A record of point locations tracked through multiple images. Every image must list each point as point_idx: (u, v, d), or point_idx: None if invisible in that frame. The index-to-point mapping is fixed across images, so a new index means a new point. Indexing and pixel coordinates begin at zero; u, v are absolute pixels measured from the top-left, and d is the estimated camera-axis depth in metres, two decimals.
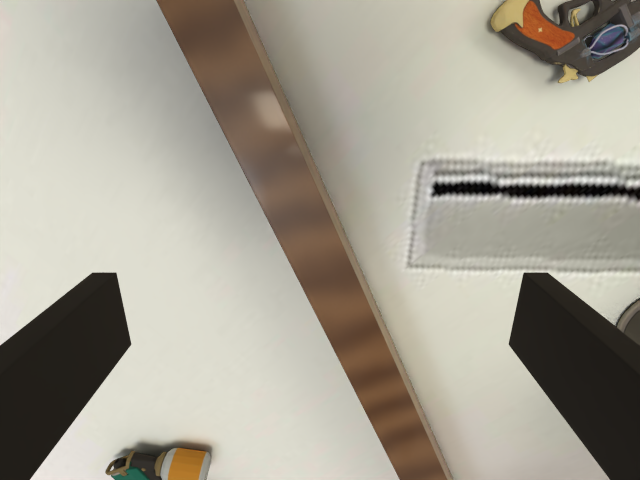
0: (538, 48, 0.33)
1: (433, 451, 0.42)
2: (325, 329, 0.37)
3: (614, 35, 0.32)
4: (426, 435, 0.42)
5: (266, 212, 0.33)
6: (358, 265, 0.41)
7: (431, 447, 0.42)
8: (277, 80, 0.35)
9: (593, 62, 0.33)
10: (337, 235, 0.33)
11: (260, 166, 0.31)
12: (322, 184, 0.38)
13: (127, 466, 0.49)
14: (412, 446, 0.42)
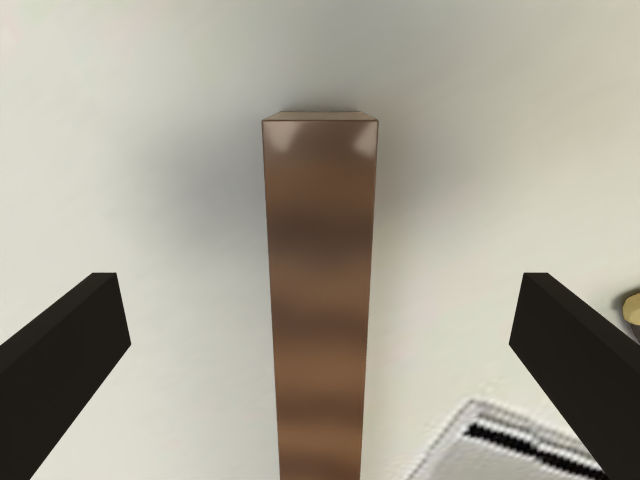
0: None
1: None
2: None
3: None
4: None
5: (281, 453, 0.23)
6: None
7: None
8: None
9: None
10: None
11: (302, 405, 0.22)
12: None
13: None
14: None
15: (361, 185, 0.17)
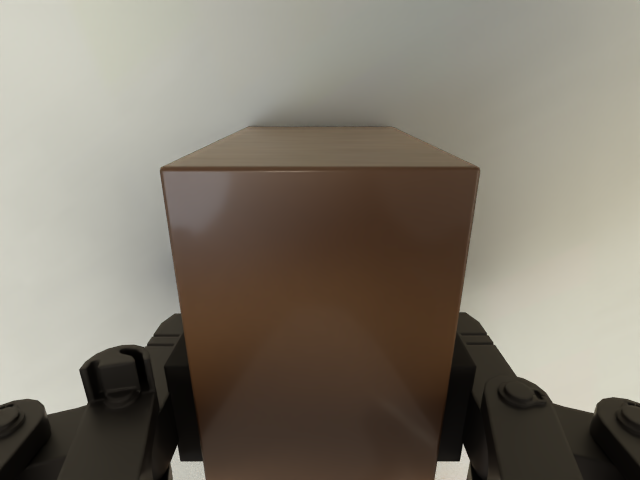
0: None
1: None
2: None
3: None
4: None
5: None
6: None
7: None
8: None
9: None
10: None
11: None
12: None
13: None
14: None
15: (423, 325, 0.07)
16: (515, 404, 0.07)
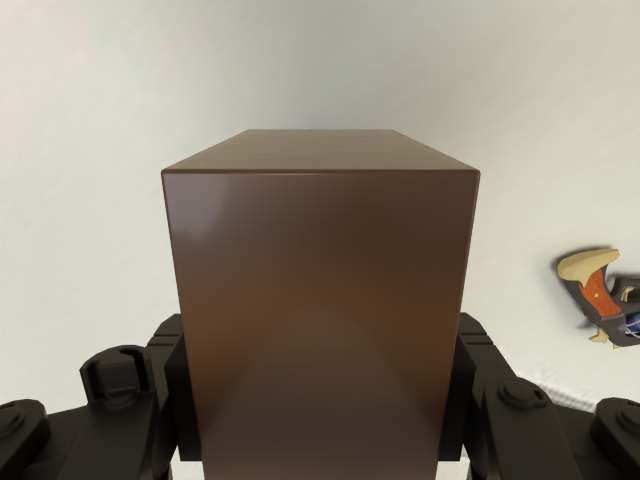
0: (588, 308, 0.34)
1: None
2: None
3: None
4: None
5: None
6: None
7: None
8: None
9: (624, 337, 0.35)
10: None
11: None
12: None
13: None
14: None
15: (423, 329, 0.07)
16: (515, 404, 0.07)
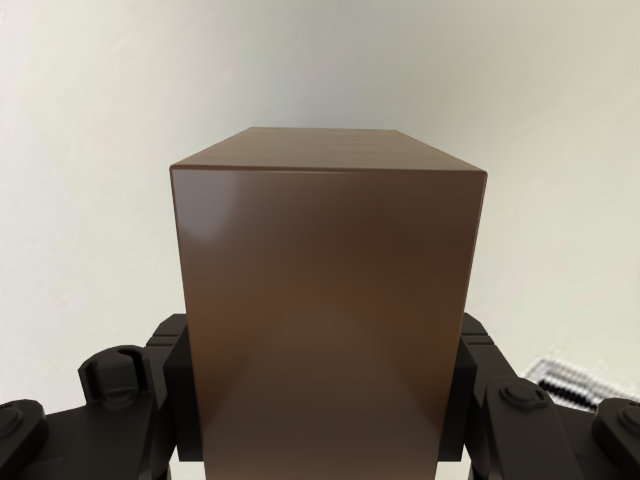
0: None
1: None
2: None
3: None
4: None
5: None
6: None
7: None
8: None
9: None
10: None
11: None
12: None
13: None
14: None
15: (427, 327, 0.07)
16: (516, 404, 0.07)
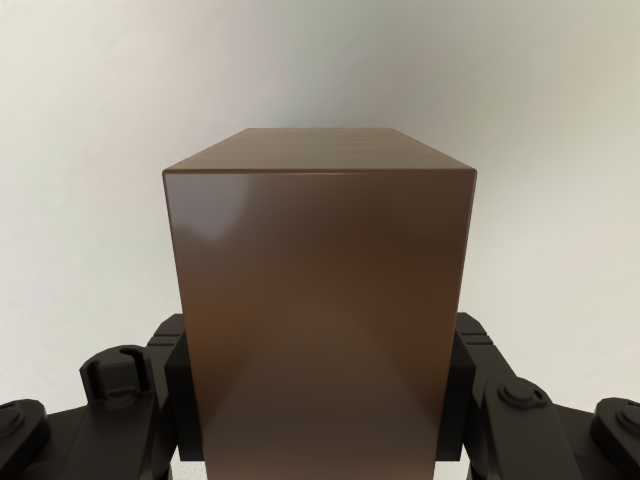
0: None
1: None
2: None
3: None
4: None
5: None
6: None
7: None
8: None
9: None
10: None
11: None
12: None
13: None
14: None
15: (421, 325, 0.07)
16: (515, 403, 0.07)
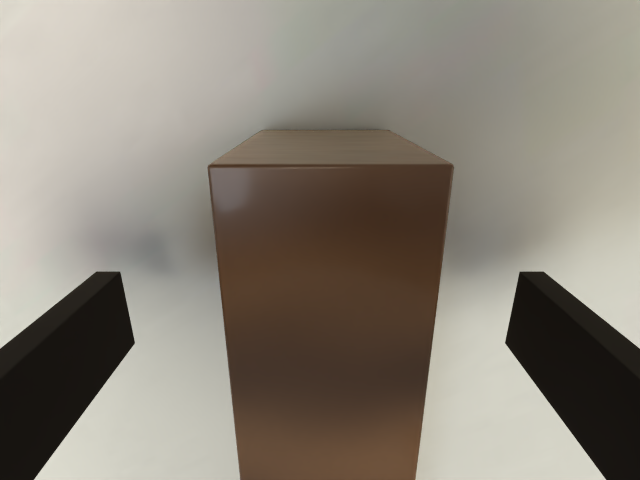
0: None
1: None
2: None
3: None
4: None
5: None
6: None
7: None
8: None
9: None
10: None
11: None
12: None
13: None
14: None
15: (411, 290, 0.09)
16: None
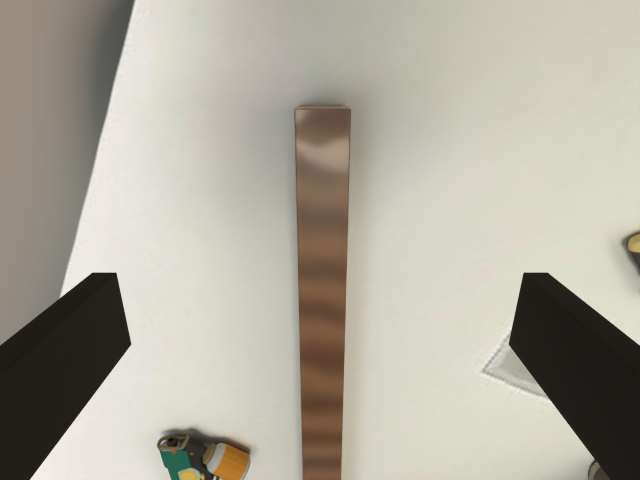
0: None
1: None
2: (302, 393, 0.46)
3: None
4: None
5: (300, 299, 0.41)
6: None
7: None
8: None
9: None
10: (344, 333, 0.43)
11: (312, 268, 0.40)
12: None
13: (182, 447, 0.55)
14: None
15: (342, 141, 0.35)
16: None
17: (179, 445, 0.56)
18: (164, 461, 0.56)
